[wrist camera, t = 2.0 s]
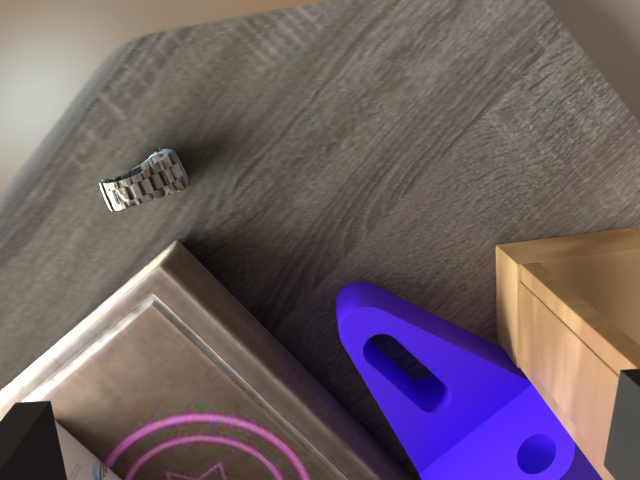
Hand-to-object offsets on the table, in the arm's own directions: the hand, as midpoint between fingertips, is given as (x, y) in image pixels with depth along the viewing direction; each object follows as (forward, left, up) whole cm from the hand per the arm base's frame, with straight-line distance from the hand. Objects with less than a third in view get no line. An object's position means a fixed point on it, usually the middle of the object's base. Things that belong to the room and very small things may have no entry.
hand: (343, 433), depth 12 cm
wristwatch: (+11, -3, -26) cm, 28 cm away
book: (+11, +21, -26) cm, 35 cm away
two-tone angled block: (-18, +10, -26) cm, 33 cm away
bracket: (-7, +15, -26) cm, 31 cm away
